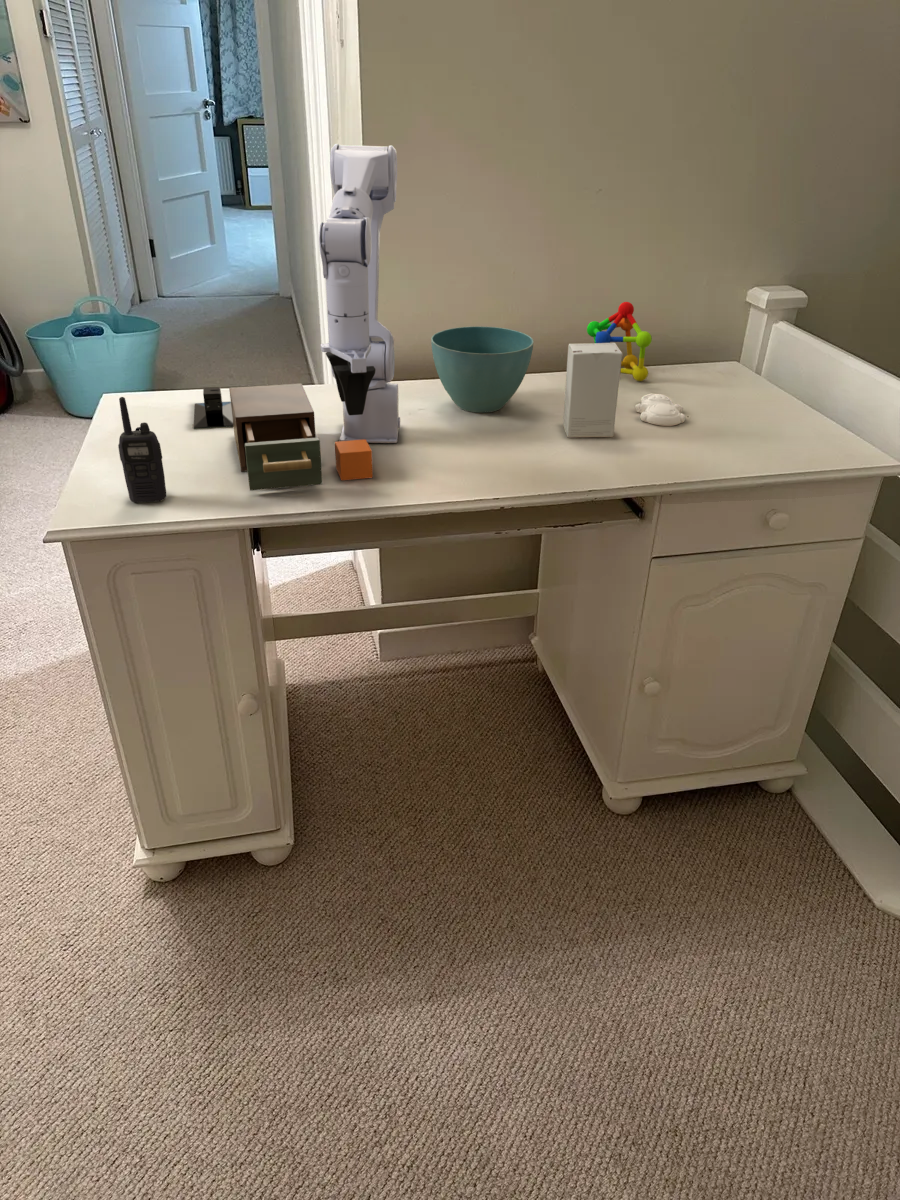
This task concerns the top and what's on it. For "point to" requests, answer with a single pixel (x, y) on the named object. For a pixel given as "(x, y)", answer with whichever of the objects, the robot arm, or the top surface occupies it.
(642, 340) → the educational toy
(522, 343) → the plant pot
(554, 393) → the top surface
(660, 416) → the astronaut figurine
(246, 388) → the cabinet
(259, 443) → the drawer
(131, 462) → the two-way radio
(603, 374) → the cosmetic box
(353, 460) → the block
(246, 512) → the top surface
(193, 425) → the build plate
